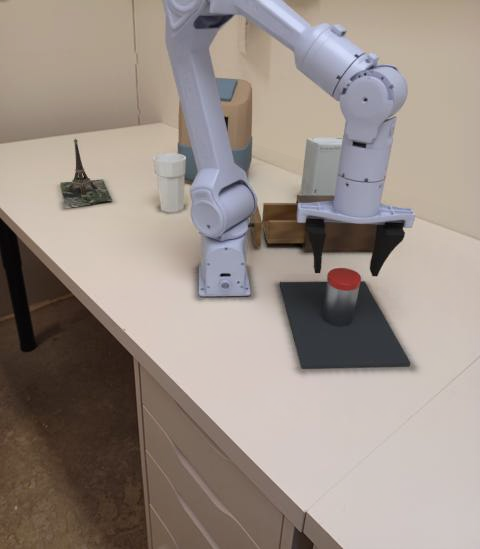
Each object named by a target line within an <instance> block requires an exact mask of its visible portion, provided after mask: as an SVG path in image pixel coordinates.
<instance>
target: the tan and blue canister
mask: <svg viewBox="0 0 480 549" xmlns="http://www.w3.org/2000/svg"><path fill="white" fill-rule="evenodd" d="M215 79H216V83H217V88H218V92H219V97H220V101H221V105H222V110H223V114H224V119H225V123H226V128H227V132H228V137H229V141H230V146H231V150H232V155H233V159H234V163H235V164H236V165H237V166H239V167H240V168H242V169H243V170H244V171H245V172H246V174H247V172H248V171H249V169H250V166H251V164H252V157H253V132H252V131H253V88H252V87H253V86H252V84H251V82H249V81H248V80H246V79H241V78H228V77H215ZM178 99H179V100H178V102H179V104H178V142H177V154H181V155H184V156H185V157H186V172H185V176H184V181H186V182H188V183H190V184H192V183H193V181H194V179H195V177H196V175H197V173H198V170H197V166H196V162H195V158H194V154H193V150H192V146H191V142H190V138H189V134H188V130H187V126H186V122H185V118H184V114H183V110H182V106H181V102H180V98H178Z"/></svg>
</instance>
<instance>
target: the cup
mask: <svg viewBox="0 0 480 549" xmlns="http://www.w3.org/2000/svg"><path fill="white" fill-rule="evenodd" d="M152 160H153V169H154V173H155V175H156V180H157V190H158V198H159V209H160V210H161V212H166V213H179V212H181V211H182V210H184V209H185V205H184V204H185V180H184V176H185V172H186V157H185V156H184V155H181V154H178V153H176V152H165V153H164V152H163V153H159V154H156V155H154V156H153V158H152Z"/></svg>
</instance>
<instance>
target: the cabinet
mask: <svg viewBox="0 0 480 549" xmlns="http://www.w3.org/2000/svg"><path fill="white" fill-rule="evenodd" d="M325 201H334V196H332V195H300V194H297V195H296V200H295V203H314V202H325ZM324 224H325V232H326V238H325V242H324V246H323V252H322V253H373V249H374V245H375V237H376V228H377V224H355V223H341V222H324ZM300 244H301V247H302V249H303V252H304V253H313V249H312V246H311V243H310V240H309V237H308V234H307V231H306V234H305V243H300Z"/></svg>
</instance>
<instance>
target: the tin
mask: <svg viewBox="0 0 480 549" xmlns="http://www.w3.org/2000/svg"><path fill="white" fill-rule="evenodd" d="M326 277H327V278H326V282H327V286H326V293H325V299H324V306H323V313H322V317H323V319H324V320H325V321H326V322H327V323H329V324H331V325H334V326H347V325H349V324H351V323H352V321H353V317H354V312H355V307H356V301H357V296H358V291H359V286H360V282H361V281H362V276H361V275H360V273H358V272H357V271H356V270H353V269H351V268H346V267H335V268H332V269H330V270H329V271H328V272H327V276H326Z"/></svg>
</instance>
